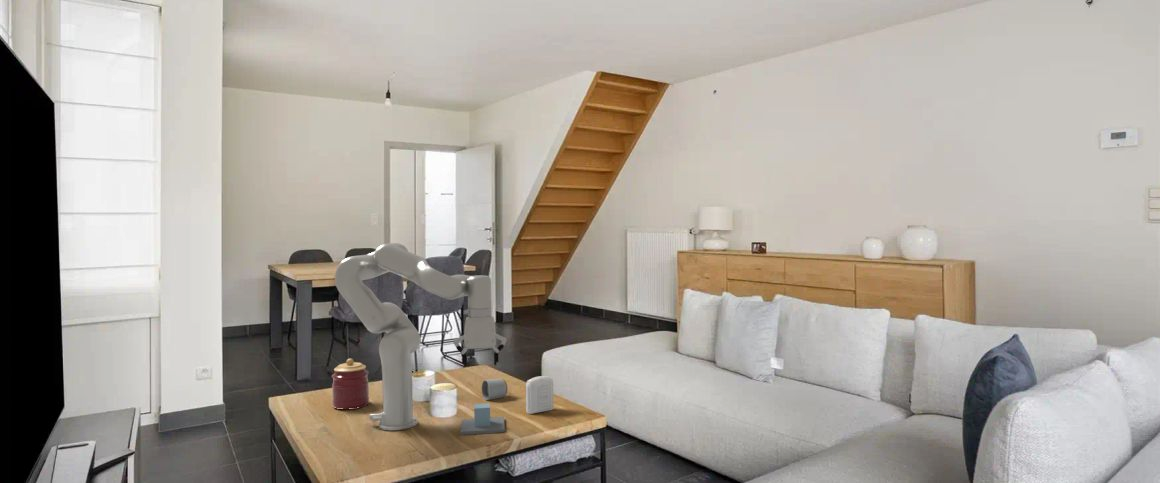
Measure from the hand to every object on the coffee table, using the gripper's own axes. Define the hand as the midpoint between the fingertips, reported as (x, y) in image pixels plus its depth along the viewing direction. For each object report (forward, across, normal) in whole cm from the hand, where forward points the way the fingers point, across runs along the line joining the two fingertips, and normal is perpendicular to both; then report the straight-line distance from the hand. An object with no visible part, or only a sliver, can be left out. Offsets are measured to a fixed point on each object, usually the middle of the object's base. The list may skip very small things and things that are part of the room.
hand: (480, 365), depth 205 cm
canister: (+21, -49, +35) cm, 64 cm away
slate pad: (+20, 0, 0) cm, 21 cm away
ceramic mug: (+21, +4, +35) cm, 41 cm away
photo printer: (+20, +20, +14) cm, 32 cm away
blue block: (+20, 0, 0) cm, 20 cm away
